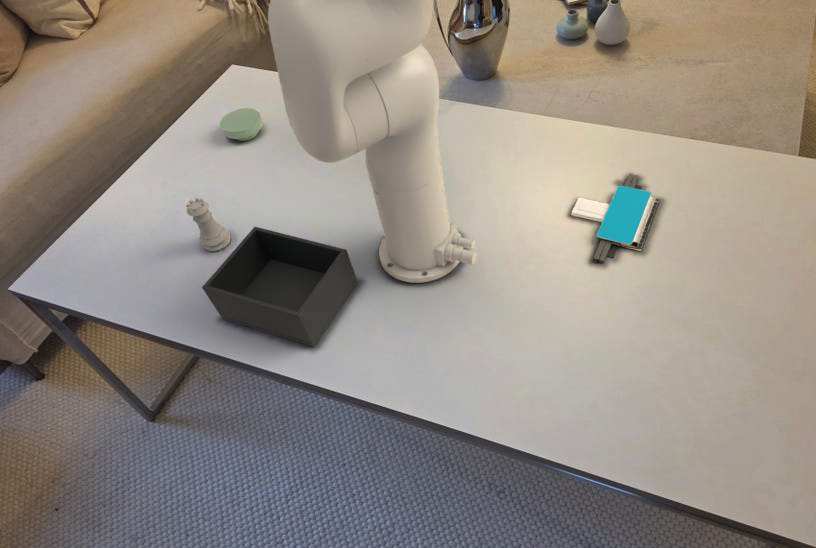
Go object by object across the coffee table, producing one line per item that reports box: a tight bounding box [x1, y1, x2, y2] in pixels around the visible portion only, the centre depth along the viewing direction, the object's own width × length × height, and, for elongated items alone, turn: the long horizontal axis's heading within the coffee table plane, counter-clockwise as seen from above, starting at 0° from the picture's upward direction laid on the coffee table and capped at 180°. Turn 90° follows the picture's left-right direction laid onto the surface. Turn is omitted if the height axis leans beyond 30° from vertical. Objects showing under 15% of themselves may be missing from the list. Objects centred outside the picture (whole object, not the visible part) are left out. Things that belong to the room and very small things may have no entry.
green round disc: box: [219, 107, 264, 142], centre depth 109 cm, size 7×7×3 cm
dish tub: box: [201, 226, 359, 348], centre depth 81 cm, size 15×12×7 cm
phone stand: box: [571, 173, 661, 264], centre depth 89 cm, size 20×12×2 cm, turn 157°
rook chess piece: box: [185, 197, 232, 252], centre depth 89 cm, size 4×4×8 cm
